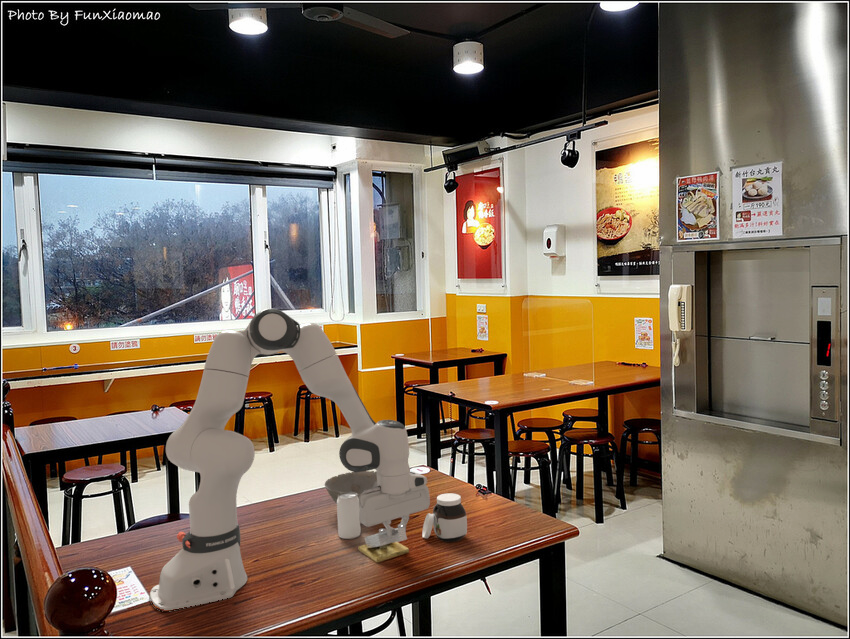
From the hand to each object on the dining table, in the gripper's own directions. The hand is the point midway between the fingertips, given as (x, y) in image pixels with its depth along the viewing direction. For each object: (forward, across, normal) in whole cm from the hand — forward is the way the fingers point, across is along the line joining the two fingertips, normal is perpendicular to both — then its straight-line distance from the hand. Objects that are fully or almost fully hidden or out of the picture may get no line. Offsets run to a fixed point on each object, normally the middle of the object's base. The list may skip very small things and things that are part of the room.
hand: (396, 533), depth 166 cm
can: (+7, -2, +23) cm, 24 cm away
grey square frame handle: (+3, 0, +3) cm, 4 cm away
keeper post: (+7, 0, +7) cm, 10 cm away
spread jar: (+7, +18, +3) cm, 19 cm away
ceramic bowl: (+7, +10, +38) cm, 39 cm away
